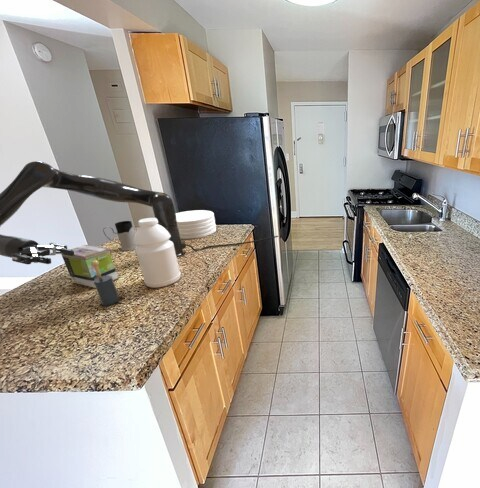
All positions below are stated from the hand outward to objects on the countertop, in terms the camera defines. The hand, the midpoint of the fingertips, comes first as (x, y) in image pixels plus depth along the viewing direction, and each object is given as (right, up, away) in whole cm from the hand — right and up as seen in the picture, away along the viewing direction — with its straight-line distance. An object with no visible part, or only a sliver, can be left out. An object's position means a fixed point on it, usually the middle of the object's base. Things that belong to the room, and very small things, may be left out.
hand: (62, 257), depth 95 cm
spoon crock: (+14, -17, +5) cm, 23 cm away
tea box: (-5, -12, +20) cm, 24 cm away
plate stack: (+8, +13, +81) cm, 83 cm away
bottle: (+25, -11, +20) cm, 34 cm away
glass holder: (-19, +2, +54) cm, 58 cm away
